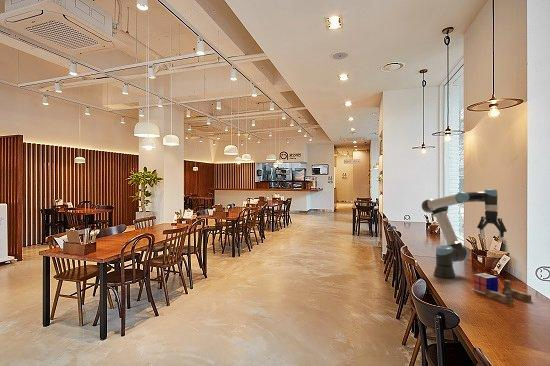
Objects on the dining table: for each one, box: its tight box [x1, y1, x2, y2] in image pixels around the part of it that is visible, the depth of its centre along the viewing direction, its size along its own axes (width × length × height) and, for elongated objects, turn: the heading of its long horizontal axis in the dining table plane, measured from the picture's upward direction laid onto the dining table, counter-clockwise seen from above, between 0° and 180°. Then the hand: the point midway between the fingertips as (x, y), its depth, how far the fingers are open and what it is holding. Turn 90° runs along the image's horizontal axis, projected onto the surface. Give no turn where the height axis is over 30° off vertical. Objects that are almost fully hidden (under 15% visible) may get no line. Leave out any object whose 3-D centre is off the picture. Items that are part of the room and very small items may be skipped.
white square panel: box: [471, 287, 501, 295], centre depth 208 cm, size 11×11×1 cm
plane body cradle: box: [484, 279, 532, 306], centre depth 195 cm, size 16×18×9 cm
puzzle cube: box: [473, 272, 499, 292], centre depth 208 cm, size 10×10×10 cm
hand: (491, 240), depth 220 cm, fingers open, 13 cm apart
